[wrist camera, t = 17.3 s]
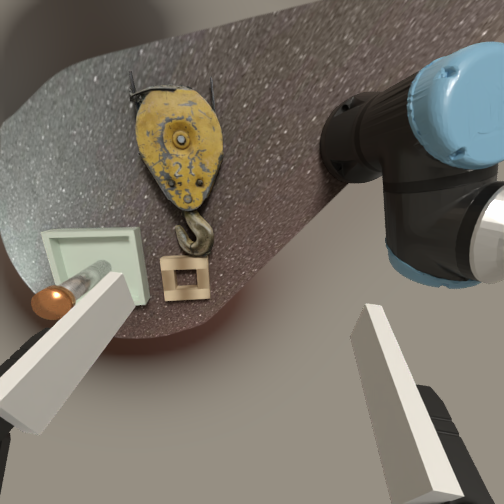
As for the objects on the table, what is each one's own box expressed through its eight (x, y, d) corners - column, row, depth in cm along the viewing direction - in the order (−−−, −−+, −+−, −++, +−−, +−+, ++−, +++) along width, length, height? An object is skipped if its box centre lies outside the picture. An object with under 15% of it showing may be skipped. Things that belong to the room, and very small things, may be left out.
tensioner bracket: (208, 254, 46) (207, 257, 44) (210, 293, 49) (210, 298, 47) (162, 256, 45) (159, 259, 43) (167, 296, 48) (165, 301, 46)
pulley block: (154, 267, 39) (115, 59, 30) (158, 257, 45) (126, 77, 36) (234, 257, 43) (221, 68, 34) (228, 249, 48) (215, 83, 39)
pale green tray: (139, 226, 43) (133, 230, 40) (150, 297, 47) (145, 304, 45) (53, 228, 41) (40, 232, 38) (72, 301, 46) (62, 309, 43)
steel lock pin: (112, 256, 43) (63, 289, 30) (117, 277, 44) (71, 318, 31) (87, 257, 42) (26, 291, 29) (92, 278, 44) (36, 321, 30)
